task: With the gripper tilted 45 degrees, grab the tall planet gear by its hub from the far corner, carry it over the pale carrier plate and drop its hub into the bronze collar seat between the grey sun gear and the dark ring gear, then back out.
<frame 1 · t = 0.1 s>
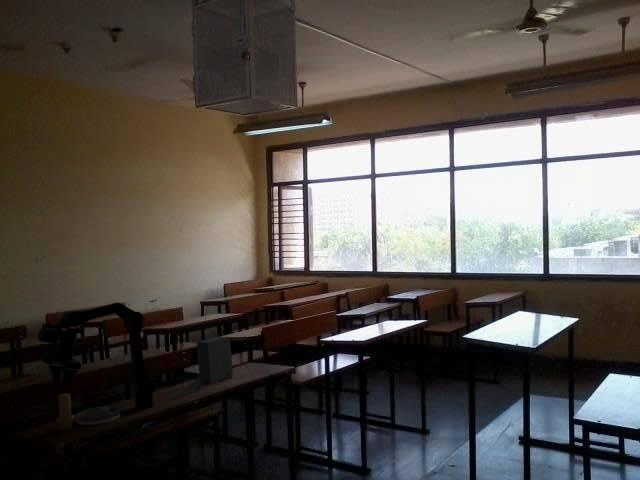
hand: (59, 386, 228), 15 cm above the table, tool pointing down, fingers open, 9 cm apart
caliper: (185, 395, 269), on the table
hard drive box: (216, 380, 295), on the table
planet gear: (66, 428, 226), on the table
carrier plate: (98, 418, 237), on the table
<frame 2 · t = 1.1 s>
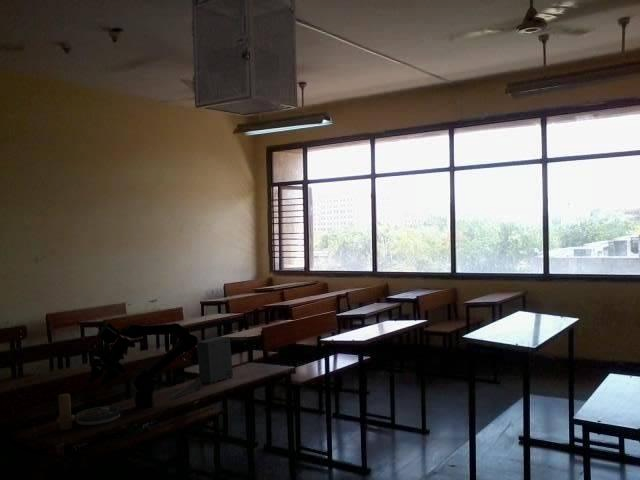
hand: (94, 384, 238), 13 cm above the table, tool tilted 45°, fingers open, 9 cm apart
nothing on the table moved.
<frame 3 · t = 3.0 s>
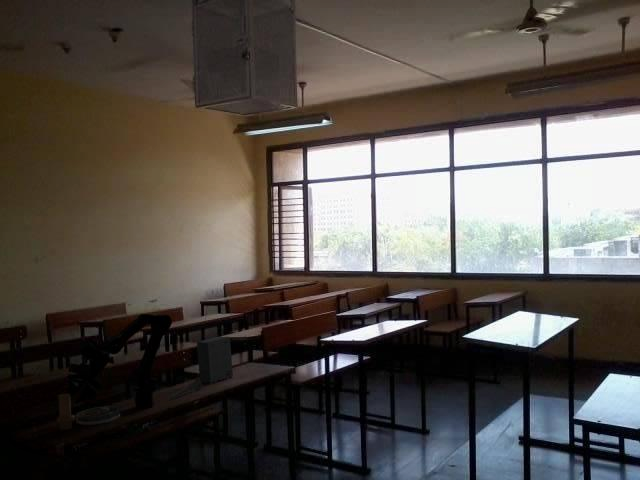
hand: (69, 401, 228), 9 cm above the table, tool tilted 45°, fingers open, 9 cm apart
nothing on the table moved.
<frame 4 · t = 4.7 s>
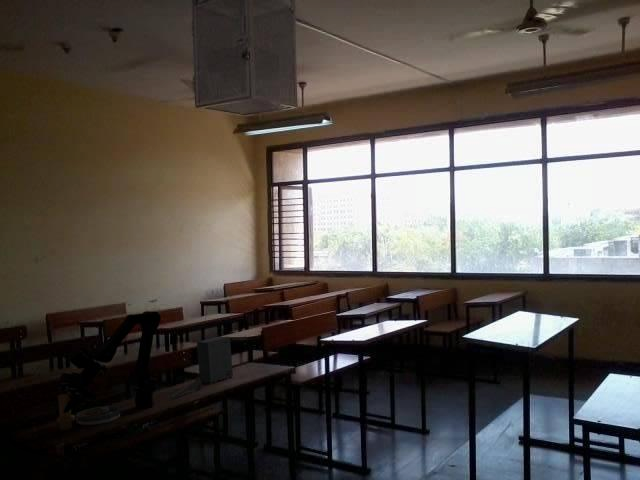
hand: (61, 411, 225), 7 cm above the table, tool tilted 45°, fingers closed on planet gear, 4 cm apart
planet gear: (66, 428, 226), on the table, touching gripper
everything else where it was.
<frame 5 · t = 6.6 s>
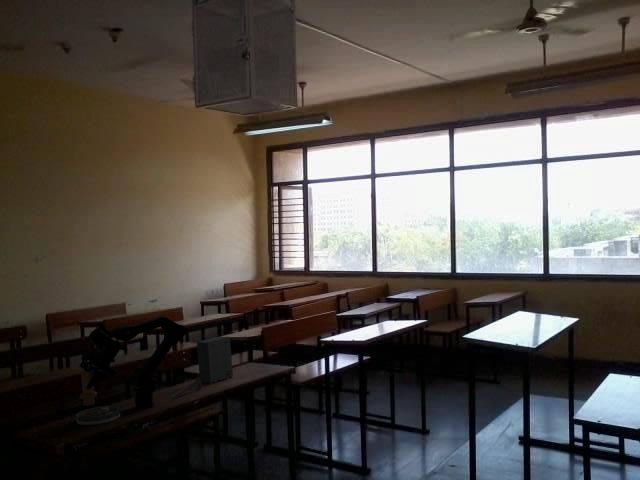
hand: (84, 388, 233), 13 cm above the table, tool tilted 45°, fingers closed on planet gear, 4 cm apart
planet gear: (89, 404, 234), point 7 cm above the table, touching gripper
everything else where it was.
when the fingers open (9 cm above the table, at t = 8.5 s): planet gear stays where it is, resting on carrier plate.
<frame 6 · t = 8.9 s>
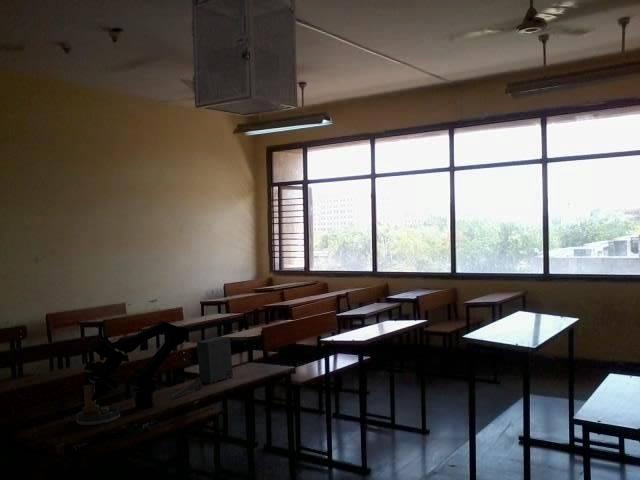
hand: (86, 399, 233), 9 cm above the table, tool tilted 45°, fingers open, 8 cm apart
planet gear: (91, 417, 234), point 1 cm above the table, touching carrier plate
everything else where it was.
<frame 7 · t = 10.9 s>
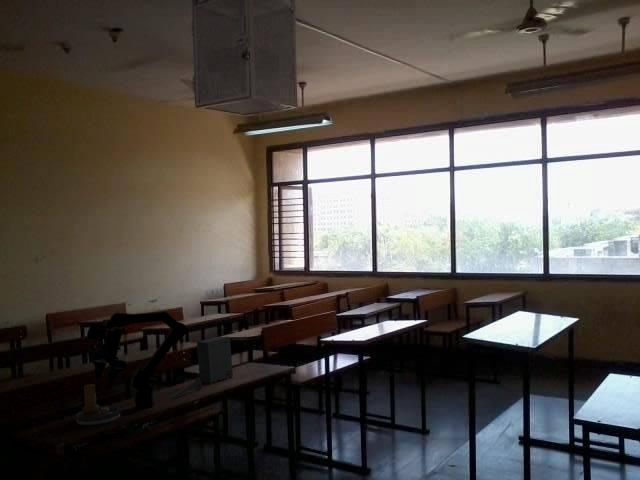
hand: (103, 381, 245), 13 cm above the table, tool tilted 15°, fingers open, 9 cm apart
nothing on the table moved.
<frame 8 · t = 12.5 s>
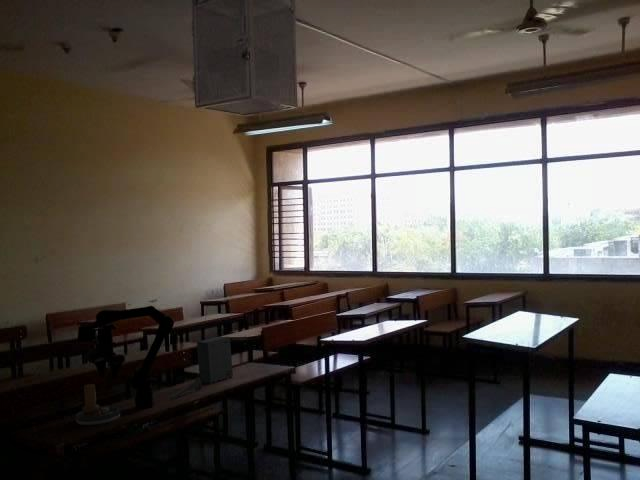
hand: (107, 378, 249), 13 cm above the table, tool pointing down, fingers open, 9 cm apart
nothing on the table moved.
at the end: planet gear 0.0 cm from the target spot on the carrier plate, point 1.2 cm above the carrier plate's base; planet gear tilted 0°; the gripper is holding nothing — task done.
